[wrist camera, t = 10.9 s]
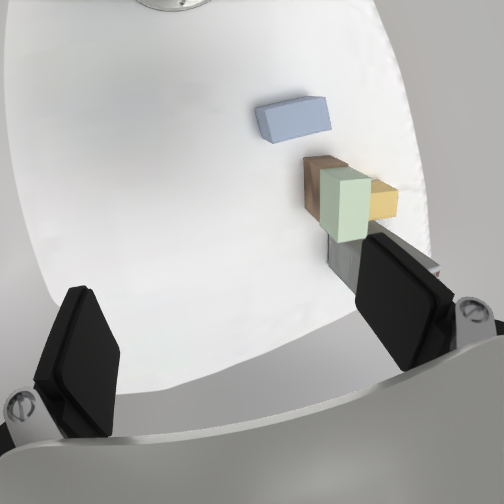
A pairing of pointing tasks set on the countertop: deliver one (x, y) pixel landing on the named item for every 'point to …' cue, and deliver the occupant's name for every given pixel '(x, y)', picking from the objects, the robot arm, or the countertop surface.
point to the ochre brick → (382, 200)
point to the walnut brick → (316, 180)
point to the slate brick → (293, 118)
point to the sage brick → (344, 203)
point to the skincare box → (348, 256)
